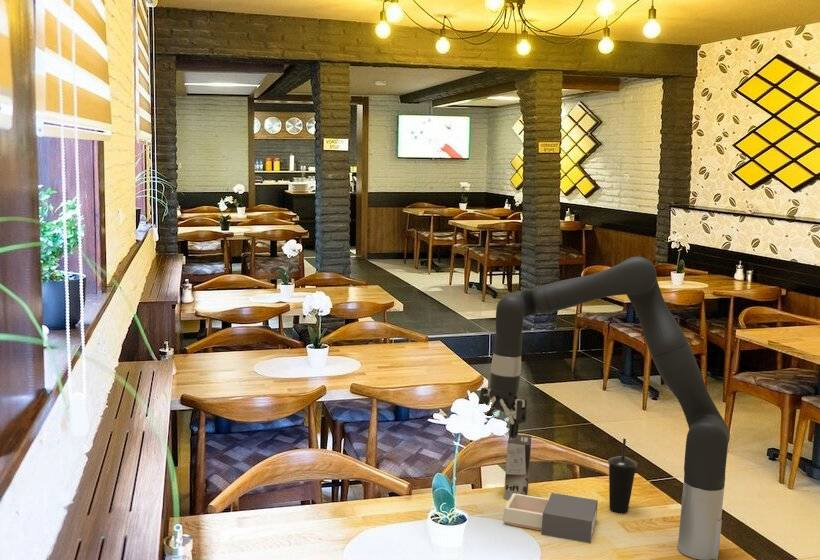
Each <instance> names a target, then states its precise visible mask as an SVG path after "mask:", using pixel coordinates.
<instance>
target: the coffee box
mask: <svg viewBox="0 0 820 560" xmlns="http://www.w3.org/2000/svg"><path fill="white" fill-rule="evenodd" d="M506 448H507V449H506V459H505V461H506V462H505V463H506V464H505V476H504V477H505V478H504V492H503V499H505V500H509V499H510V498H511V496H512V494H513V493H516V494H522V495H528V492H529V480H530V468H531V467H530V466H531V465H530V464H531V452H532V451H531V449H532V436H531V435H529V434H528V435H527V434H526V435H525V434H518V435H517V436H516V437H515V438H509V437H508V440H507V447H506Z"/></svg>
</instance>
